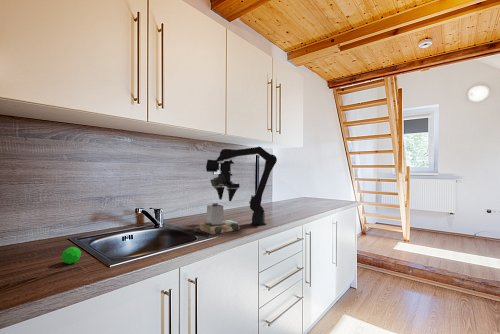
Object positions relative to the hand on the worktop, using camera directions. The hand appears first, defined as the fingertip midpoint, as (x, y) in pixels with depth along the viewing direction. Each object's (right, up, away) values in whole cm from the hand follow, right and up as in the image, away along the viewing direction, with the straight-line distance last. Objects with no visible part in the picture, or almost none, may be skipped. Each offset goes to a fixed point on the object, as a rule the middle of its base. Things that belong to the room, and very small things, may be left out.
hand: (225, 200), depth 137 cm
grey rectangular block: (-4, -12, -15) cm, 19 cm away
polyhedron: (-43, -12, -58) cm, 73 cm away
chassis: (-1, -13, -13) cm, 18 cm away
